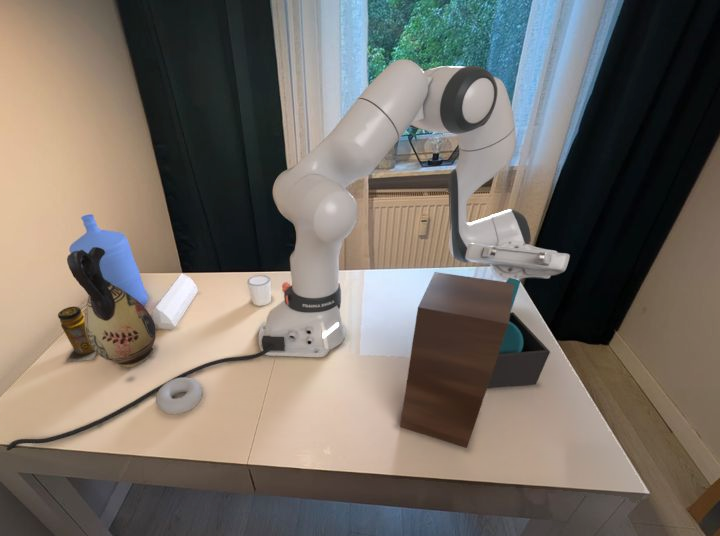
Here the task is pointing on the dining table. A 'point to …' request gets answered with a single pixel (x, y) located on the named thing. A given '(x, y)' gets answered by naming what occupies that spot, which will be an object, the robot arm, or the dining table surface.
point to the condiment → (76, 334)
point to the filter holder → (512, 329)
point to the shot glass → (260, 289)
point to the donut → (182, 403)
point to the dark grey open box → (520, 361)
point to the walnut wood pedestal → (454, 354)
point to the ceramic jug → (112, 314)
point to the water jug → (113, 258)
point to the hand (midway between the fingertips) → (517, 253)
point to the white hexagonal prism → (174, 303)
